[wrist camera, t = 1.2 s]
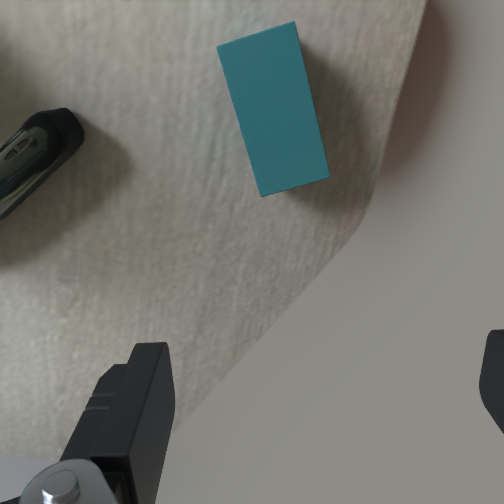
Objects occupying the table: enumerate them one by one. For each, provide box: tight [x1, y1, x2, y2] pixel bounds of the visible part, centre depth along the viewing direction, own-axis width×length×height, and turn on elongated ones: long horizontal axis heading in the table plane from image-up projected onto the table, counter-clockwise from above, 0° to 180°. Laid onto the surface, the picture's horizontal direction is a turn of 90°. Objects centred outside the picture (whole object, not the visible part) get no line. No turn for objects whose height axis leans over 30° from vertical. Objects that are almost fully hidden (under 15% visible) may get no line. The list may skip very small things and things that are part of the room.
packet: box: [217, 21, 330, 197], centre depth 26 cm, size 4×8×6 cm, turn 16°
